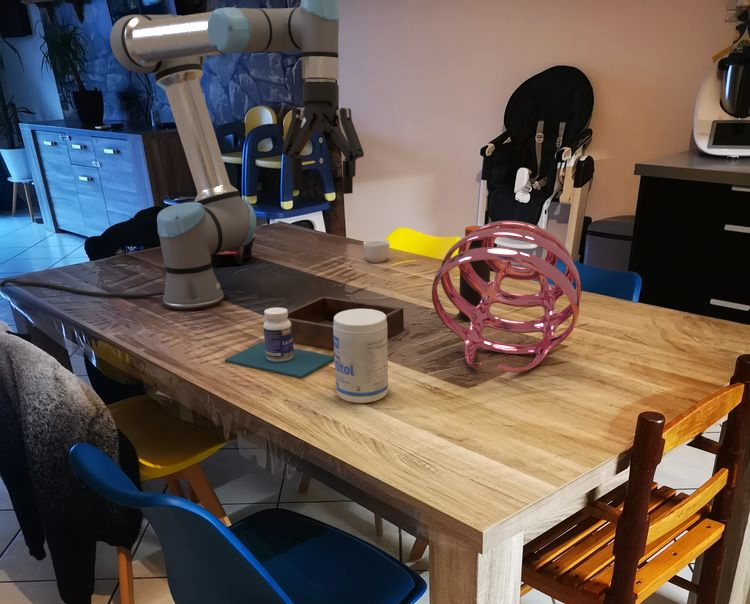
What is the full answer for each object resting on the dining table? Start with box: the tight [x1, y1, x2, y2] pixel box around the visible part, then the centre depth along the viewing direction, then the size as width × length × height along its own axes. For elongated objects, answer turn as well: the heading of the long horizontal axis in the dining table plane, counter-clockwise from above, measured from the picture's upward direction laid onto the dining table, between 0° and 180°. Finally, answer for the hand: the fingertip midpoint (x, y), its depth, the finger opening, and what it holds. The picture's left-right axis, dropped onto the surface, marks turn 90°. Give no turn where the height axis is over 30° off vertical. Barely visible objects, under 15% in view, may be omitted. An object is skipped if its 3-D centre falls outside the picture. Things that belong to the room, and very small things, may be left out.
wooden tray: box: [287, 295, 405, 351], centre depth 166 cm, size 22×18×5 cm
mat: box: [224, 341, 335, 379], centre depth 154 cm, size 20×12×1 cm, turn 57°
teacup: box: [362, 239, 390, 264], centre depth 223 cm, size 10×8×5 cm
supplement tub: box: [332, 309, 389, 404], centre depth 134 cm, size 10×10×15 cm
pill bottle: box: [262, 307, 294, 362], centre depth 152 cm, size 6×6×10 cm
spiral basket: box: [431, 220, 583, 374], centre depth 142 cm, size 28×28×27 cm
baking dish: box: [211, 233, 257, 268], centre depth 228 cm, size 14×18×10 cm
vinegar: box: [458, 225, 491, 322], centre depth 169 cm, size 7×7×20 cm
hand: (322, 192), depth 165 cm, fingers open, 13 cm apart
